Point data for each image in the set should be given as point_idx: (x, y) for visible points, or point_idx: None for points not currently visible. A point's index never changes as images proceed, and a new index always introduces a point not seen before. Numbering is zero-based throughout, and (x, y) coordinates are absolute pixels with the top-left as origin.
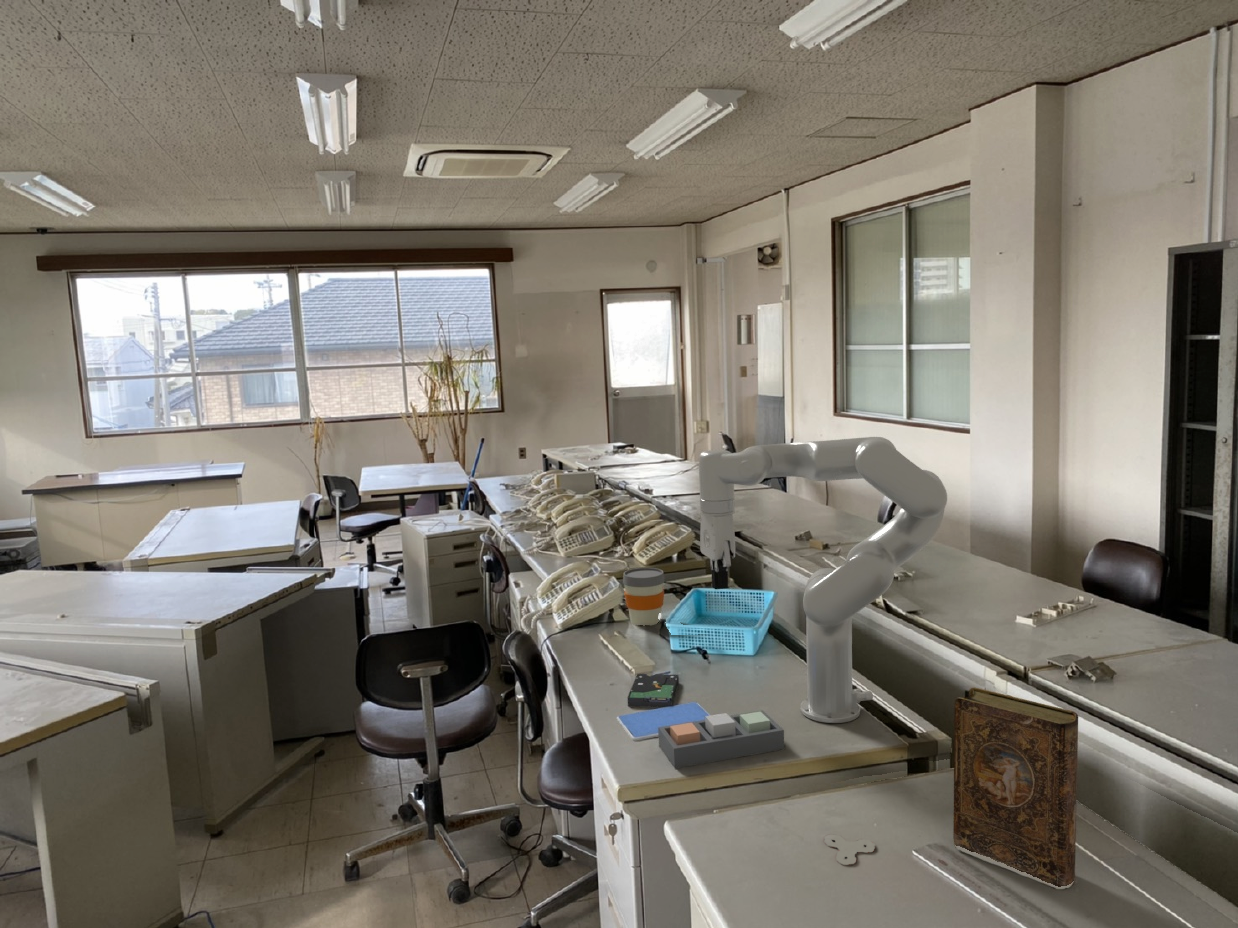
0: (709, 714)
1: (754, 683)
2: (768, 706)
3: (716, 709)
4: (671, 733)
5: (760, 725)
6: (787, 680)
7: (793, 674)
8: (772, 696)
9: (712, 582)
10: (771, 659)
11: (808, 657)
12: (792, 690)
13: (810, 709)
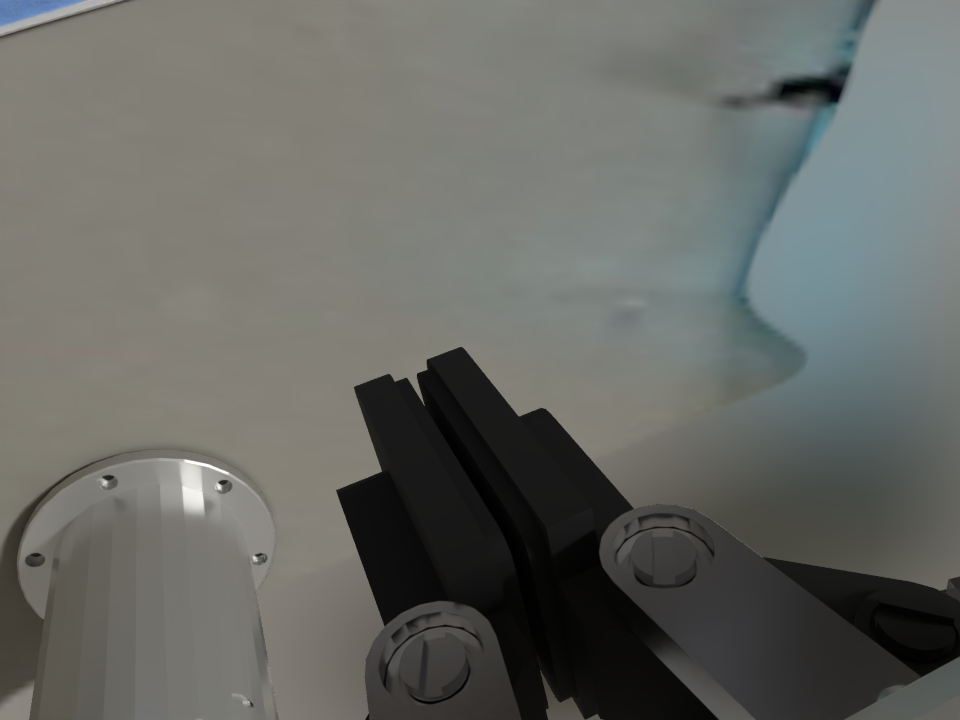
0: (60, 16)
1: (472, 280)
2: (211, 323)
3: (172, 69)
4: None
5: None
6: None
7: None
8: (324, 345)
9: (463, 392)
10: (687, 358)
11: (116, 671)
12: None
13: (111, 496)
